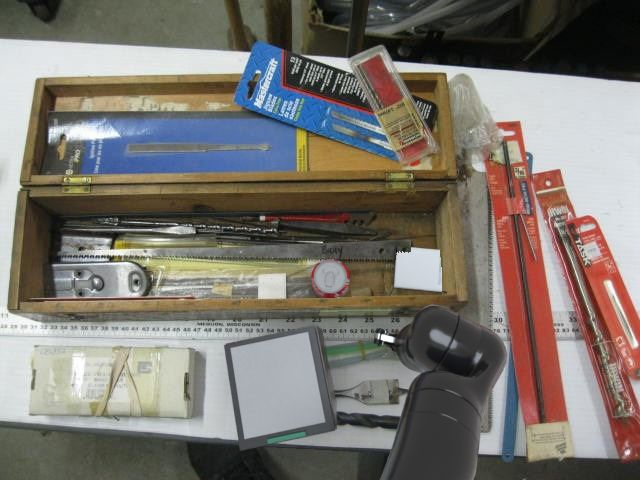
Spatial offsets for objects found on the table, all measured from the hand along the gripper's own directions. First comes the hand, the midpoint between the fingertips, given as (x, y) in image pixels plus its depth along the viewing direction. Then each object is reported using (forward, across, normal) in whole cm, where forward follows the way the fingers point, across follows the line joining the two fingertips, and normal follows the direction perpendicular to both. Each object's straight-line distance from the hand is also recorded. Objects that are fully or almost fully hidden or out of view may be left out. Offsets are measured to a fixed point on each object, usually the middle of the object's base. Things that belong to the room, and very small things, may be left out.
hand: (407, 346), depth 82 cm
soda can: (+5, -16, +8) cm, 19 cm away
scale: (-20, -19, -10) cm, 29 cm away
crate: (+5, -19, -10) cm, 22 cm away
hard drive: (+5, +1, +15) cm, 16 cm away
